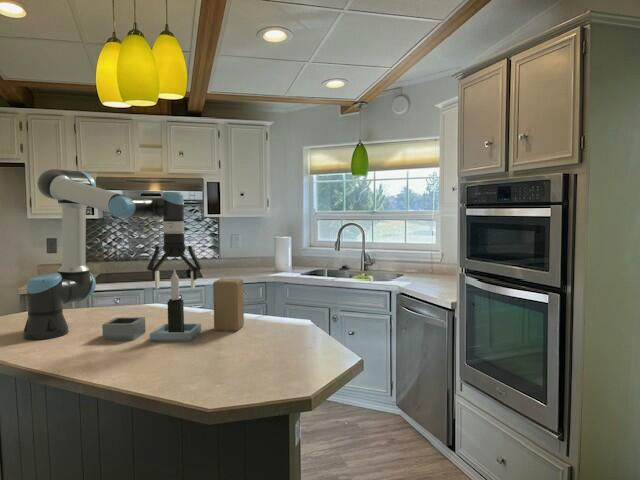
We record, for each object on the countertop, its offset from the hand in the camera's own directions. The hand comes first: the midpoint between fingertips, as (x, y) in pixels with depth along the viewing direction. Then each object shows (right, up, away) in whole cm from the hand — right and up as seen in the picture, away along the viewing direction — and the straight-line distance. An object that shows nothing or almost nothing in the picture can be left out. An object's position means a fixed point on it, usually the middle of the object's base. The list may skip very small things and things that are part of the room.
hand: (175, 288), depth 175 cm
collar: (-20, -19, +1) cm, 27 cm away
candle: (0, -18, +1) cm, 18 cm away
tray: (0, -18, +1) cm, 18 cm away
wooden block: (+18, -18, +12) cm, 28 cm away
